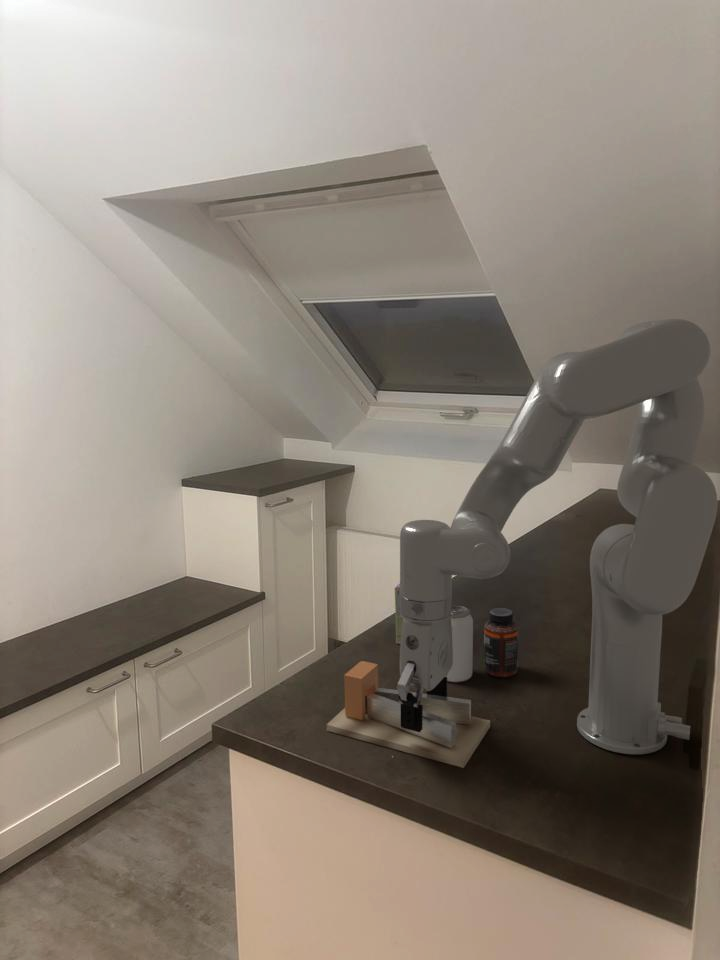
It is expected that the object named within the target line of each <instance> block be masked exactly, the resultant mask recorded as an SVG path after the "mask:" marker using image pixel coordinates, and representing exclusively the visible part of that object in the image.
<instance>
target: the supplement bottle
mask: <svg viewBox="0 0 720 960" xmlns="http://www.w3.org/2000/svg"><path fill="white" fill-rule="evenodd" d="M513 616H514V614H513V611H512V610H511V609H509V608H504V607H496V608H493V609H491V610H490V611H489V620H487V621H486V622H485V623H484V627H483V628H484V629H483V633H484V634H483V636H484V638H483V639H484V640H483V651H484V652H483V653H484V655H483V657H484V658H483V659H484V661H483V662H484V663H483V664H484V671H485V672H486V674H488V675H490V676H492V677H497V678H508V677H509V678H510V677H513V676H515V675H516V674H517V673H518V670H519V669H518V667H519V665H518V664H519V663H518V659H519V657H518V656H519V627H518V625H517V623H516V622H515V621H514V617H513Z"/></svg>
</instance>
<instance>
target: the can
mask: <svg viewBox="0 0 720 960" xmlns="http://www.w3.org/2000/svg"><path fill="white" fill-rule="evenodd" d="M451 626H452V648H453V665H452V668H451V669H450V671H449V672H448V674H447V676H445V677H447V683H448V682H449V683H463V682H466V681H468V680H470V679H471V677H472V676H473V671H474V670H473V669H474V668H473V667H474V666H473V665H474V663H473V661H474V659H473V658H474V655H473V654H474V646H473V645H474V621H473V617H472V615H471V609H469V608H467V607H465V606H461V605H451Z"/></svg>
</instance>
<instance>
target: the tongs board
mask: <svg viewBox="0 0 720 960" xmlns="http://www.w3.org/2000/svg"><path fill="white" fill-rule="evenodd" d="M490 728H491V720H490V719H485V718H480V717H476V716H472V715H471V721H470V725H468V724H461V723H456V745H454V746H453V747H452V748H450V747H447V746H444V745H442V744H439V743H436V742H434V741H431V740H428V739H426V738H423V737H421V736H418V735H415V734H413V733H410V732H407V731H405V730H402V729H400V728H397V727H394V726H392V725H389V724H386V723H384V722H381V721H379V720H376V719H373V718H371V717H368V716H367V696H365V718H364V719H363V720H359V719H355V718H352V717H348V716H345V707H343V708H342V709H341V710H340V712H339V713H337V714H336V715H335V716H334V717H333V718H332V719H331V720H330V721H329V722H328V723H326V731H327V732H331V733H334V734H338V735H341V736H344V737H345V736H346V737H349V738H351V739H356V740H360V741H364V742H367V743H371V744H375V745H377V746H378V745H379V746H382V747H386V748H388V749H392V750H396V751H401V752H403V753H408V754H410V755H415V756H419V757H422V758H426V759H430V760H433V761H436V762H441V763H445V764H447V765H451V766H455V767H457V768H463V769H464V768H465V766H466V765H467V763H468V762H469V761H470V759H471V757H472V755H473V754H474V753H475V751H476V749H477V748H478V747H479V745H480V743H481V742H482V740H483V739H484V737H485V736H486V734H487V733H488V731H489V730H490Z"/></svg>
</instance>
